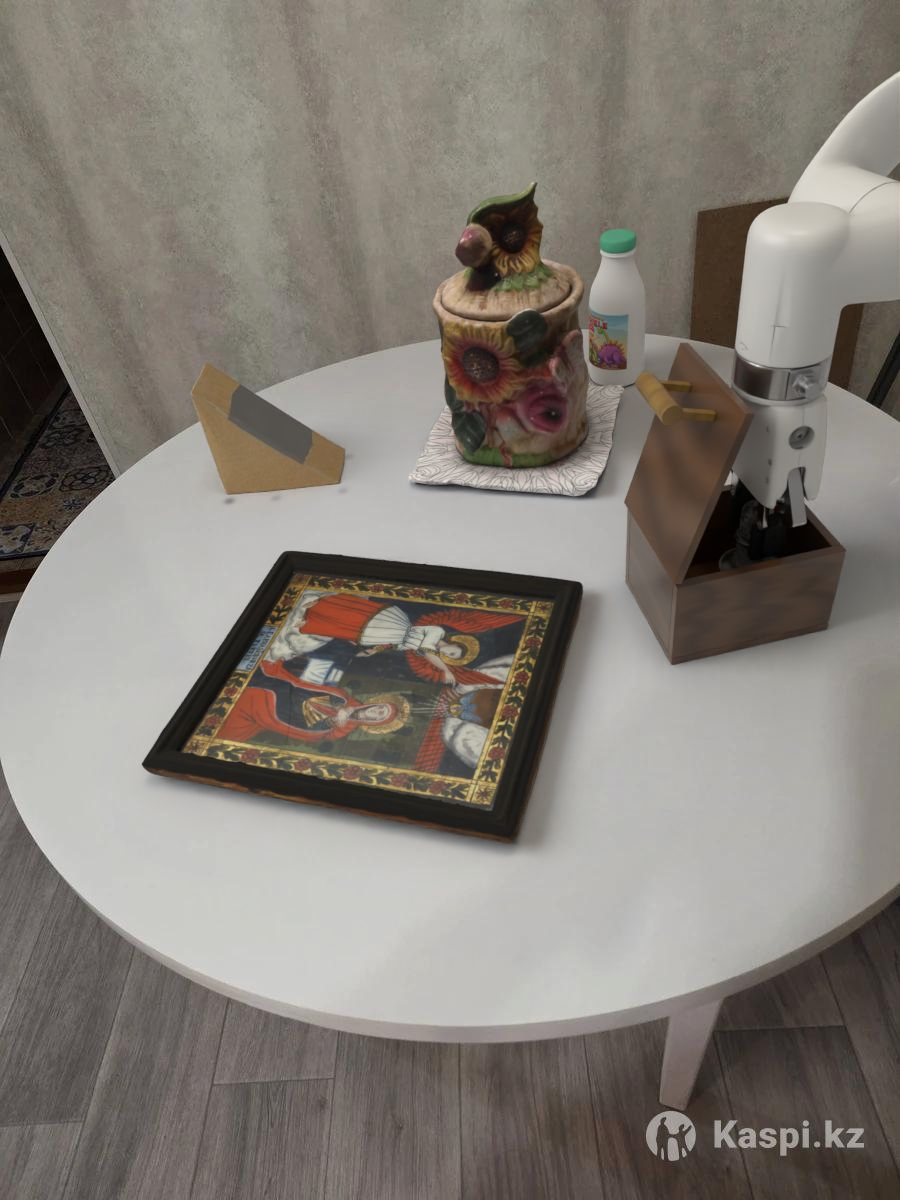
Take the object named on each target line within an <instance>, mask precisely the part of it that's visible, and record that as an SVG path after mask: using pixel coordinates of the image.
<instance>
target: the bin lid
mask: <svg viewBox="0 0 900 1200" xmlns="http://www.w3.org/2000/svg"><path fill="white" fill-rule="evenodd" d="M673 360H674V361H673V363H672V365H671V368H670V372H669V374H668V377H667V379H659V378H658V377H657V375H655V373H654V372H652V371H643V373H642V374H640V375H639V376H638V377H637V379H636V382H635V383H634V384H635V388H636V390H637V391H638V392H639V394H640V395H641V396H642V397H643V399H644V400H645V401H646V403H647V404H648V405H649V407H650V408H651V409H652V411H653V412H654V413H655V414H654V417H653V419H652V422H651V424H650V427H649V430H648V433H647V436H646V439H645V441H644V444H643V448H642V450H641V453H640V456H639V458H638V460H637V464H636V467H635V470H634V472H633V475H632V478H631V481H630V484H629V487H628V490H627V492H626V496H625V498H624V501H623V503H624V505H625V507H626V509H627V508H628V510H629V512H630V513H631V515H632V516H633V518H634V520H635V521H636V523H637V525H638V526H639V528H640V530H641V531H642V533H643V534H644V536H645V538H646V539H647V541H648V543H649V544H650V546H651V547H652V549H653V551H654V552H655V554H656V556H657V557H658V559H659V561H660V562H661V564H662V565H663V567H664V569H665V570H666V572H667V574H668V575H669V577H670V579H671V580H672V582H673V583H674V584H682V582H683V579H684V577H685V575H686V573H687V570H688V568H689V566H690V563H691V561H692V559H693V556H694V554H695V552H696V550H697V547H698V545H699V543H700V540H701V538H702V536H703V533H704V531H705V529H706V526H707V524H708V522H709V520H710V517H711V515H712V513H713V510H714V508H715V506H716V503H717V501H718V499H719V496H720V494H721V492H722V490H723V487H724V486H725V485H726V483H727V481H728V478H729V476H730V474H731V469H732V467H733V464H734V462H735V460H736V457H737V455H738V453H739V450H740V448H741V446H742V443H743V441H744V439H745V437H746V434H747V432H748V430H749V427H750V425H751V423H752V420H753V418H754V416H755V414H754V412H753V411H752V410H751V409H750V408H749V407H748V406H747V405H746V404H745V403H744V402H743V401H742V400H741V399H740V398H739V396H738V395H737V394H736V393H735V392H734V391H733V390H732V389H731V386H729V384H727V383H726V381H724V378H723V379H722V377H721V376H720V375H719V374H718V373H717V372H716V371H715V370H714V368H712V366H711V365H710V364H709V363H708V362H707V361H706V360H705V359H704V358H703V357H702V356H701V355H700V354H699V353H698V352H697V351H696V350H695V349H694V348H693V346H692V345H691V344H690V343H689V342H680V343H679V346H678V348H677V351H676V354H675V357H674V359H673Z"/></svg>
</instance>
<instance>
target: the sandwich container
mask: <svg viewBox="0 0 900 1200" xmlns="http://www.w3.org/2000/svg"><path fill="white" fill-rule="evenodd" d="M190 398H191V401H192V403H193V406H194V409H195V412H196V414H197V415H196V416H197V417H198V420H199V422H200V425H201V428H202V432H203V434H204V436H205V437H204V438H205V440H206V443H207V445H208V447H209V450H210V454H211V456H212V458H213V461H214V465H215V467H216V469H217V470H216V471H217V472H218V475H219V478H220V481H221V484H222V486H223V489H224V492H225V495H236V494H249V493H260V492H262V493H263V492H273V491H283V490H290V489H291V490H292V489H301V488H310V487H318V486H328V485H336V484H340V480H341V476H342V473H343V468H344V463H345V462H344V461H345V448H344V447H342V446H340V445H338V444H337V443H335V442H333V441H332V440H330V439H328V438H326V437H325V436H323V435H322V434H320V433H319V432H317V431H316V430H314V429H312V428H310V427H309V426H307V425H306V424H304V423H303V422H301V421H299V420H297V419H296V418H294V417H293V416H291V415H290V414H288V413H286V412H285V411H283V410H282V409H280V407H279V408H278V407H277V406H276V405H274V404H272V403H271V402H269V401H268V400H266V399H265V398H263V397H262V396H259V395H258V394H257V393H255V392H253V391H252V390H250V389H249V388H247V387H246V386H244V385H243V384H241V383H239V381H237V380H235V379H234V378H232V377H230V376H229V375H227V374H226V373H224V372H223V371H221V370H220V369H218V368H217V367H215V366H213V365H212V364H211V363H209V362H208V361H205V362H204V364H203V365H202V368H201V371H200V373H199V375H198V377H197V378H196V381H195V383H194V384H193V387H192V389H191V391H190Z"/></svg>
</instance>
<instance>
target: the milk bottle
mask: <svg viewBox="0 0 900 1200" xmlns="http://www.w3.org/2000/svg"><path fill="white" fill-rule="evenodd" d="M636 246H637V234H636V232H635V231H633V230H631V229H628V228H616V229H610V230H607V231H604V232H603V233H602V234H601V235H600V238H599V247H600V248H599V249H600V250H599V253H600V255H601V261H600V265H599V268H598V271H597V273H596V275H595V278H594V280H593V282H592V285H591V288H590V291H589V292H590V293H589V297H588V373H589V378H590V379H591V381H593V383H595V384H596V385H598V386H606V385H622V387H627V386H629V385H633V384H635V382H636V379H637V377H638V376H639V375H640V374H642V373H644V369H645V347H646V346H645V345H646V318H647V317H646V313H647V304H646V303H647V301H646V300H647V299H646V290H645V289H646V288H645V285H644V282H643V279H642V276H641V275H640V273H639V270H638V267H637V263H636V260H635V253H636V251H637V248H636Z"/></svg>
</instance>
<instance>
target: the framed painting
mask: <svg viewBox="0 0 900 1200" xmlns="http://www.w3.org/2000/svg"><path fill="white" fill-rule="evenodd" d="M583 593H584V585H583V583H582V582H581V581H576V580H570V579H564V578H556V577H550V576H549V577H548V576H541V575H532V574H523V573H515V572H506V571H498V570H487V569H476V568H466V567H457V566H449V565H438V564H437V565H436V564H429V563H417V562H407V561H399V560H388V559H381V558H380V559H378V558H370V557H361V556H360V557H359V556H352V555H350V556H349V555H343V554H337V553H321V552H310V551H299V550H285V551H283V552H282V553H280V555H279V557H278V558H277V559H276V561H275V562H274V564H273V565H272V566H271V568H270V569H269V571H268V572H267V574H266V575H265V577H264V579H263V580H262V582H261V583H260V585H259V586H258V588H257V590H256V591H255V592H254V594H253V595H252V597H251V599H250V600H249V602H248V603H247V604H246V606H245V608H244V609H243V611H242V612H241V614H240V615H239V616H238V617H237V619H236V621H235V622H234V624H233V625H232V627H231V629H230V630H229V631H228V633H227V635H226V636H225V638H224V639H223V641H222V642H221V643H220V645H219V647H218V648H217V649H216V651H214V654H213V655H212V657H211V659H210V660H209V661H208V663H207V664H206V666H205V668H204V669H203V671H202V672H201V673H200V675H199V677H198V678H197V680H196V681H195V682H194V684H193V685H192V687H191V688H190V690H189V691H188V693H187V694H186V696H185V697H184V698H183V701H181V703H180V704H179V706H178V707H177V709H176V710H175V711H174V714H173V715H172V716H171V718H170V719H169V721H168V722H167V723H166V725H165V726H164V727H163V729H162V730H161V732H160V733H159V735H158V736H157V738H156V740H155V742H154V744H153V745H152V746H151V748H150V749H149V751H148V753H147V755H146V756H145V758H144V759H143V761H142V762H141V766H142V767H143V769H144V770H145V771H146V772H148V773H149V774H152V775H156V776H160V777H161V776H162V777H167V778H172V779H178V780H184V781H188V782H194V783H198V784H203V785H208V786H212V787H213V786H214V787H219V788H224V789H228V790H229V789H230V790H233V791H234V790H235V791H240V792H242V793H243V792H244V793H250V794H255V795H261V796H265V797H270V798H275V799H279V800H282V801H283V800H284V801H289V802H293V803H299V804H305V805H313V806H322V807H326V808H332V809H336V810H341V811H346V812H349V813H353V814H357V815H361V816H366V817H372V818H377V819H383V820H389V821H395V822H401V823H406V824H412V825H416V826H420V827H426V828H430V829H432V830H433V829H434V830H437V831H441V832H445V833H450V834H456V835H461V836H468V837H474V838H480V839H485V840H488V841H493V842H498V843H504V844H513V843H515V841H516V840H517V838H518V834H519V831H520V828H521V824H522V822H523V819H524V815H525V812H526V809H527V805H528V801H529V798H530V795H531V793H532V789H533V786H534V782H535V779H536V776H537V772H538V770H539V765H540V762H541V757H542V753H543V750H544V747H545V743H546V739H547V735H548V730H549V726H550V721H551V717H552V713H553V709H554V705H555V701H556V697H557V694H558V690H559V686H560V682H561V678H562V675H563V672H564V671H563V670H564V668H565V667H564V666H565V663H566V658H567V653H568V648H569V645H570V641H571V639H572V635H573V633H574V631H575V630H574V629H575V627H576V624H577V621H578V617H579V613H580V609H581V603H582V599H583Z"/></svg>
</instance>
